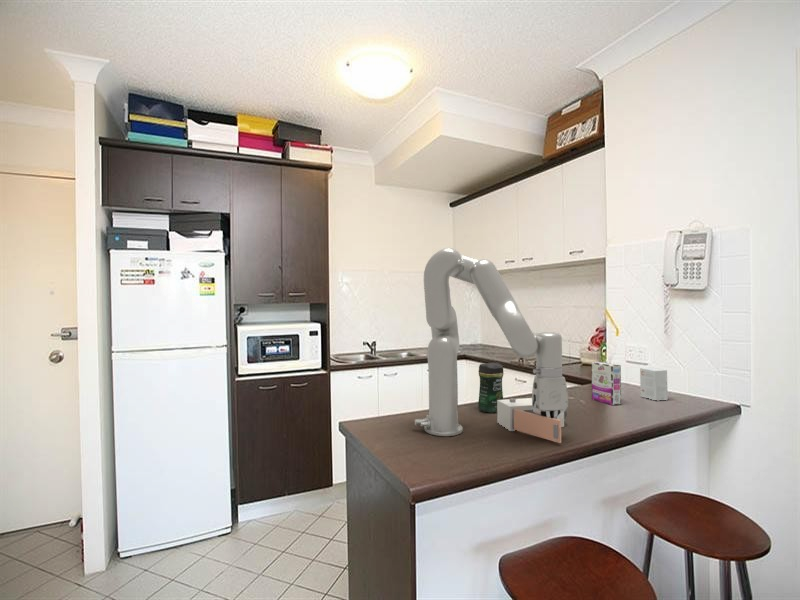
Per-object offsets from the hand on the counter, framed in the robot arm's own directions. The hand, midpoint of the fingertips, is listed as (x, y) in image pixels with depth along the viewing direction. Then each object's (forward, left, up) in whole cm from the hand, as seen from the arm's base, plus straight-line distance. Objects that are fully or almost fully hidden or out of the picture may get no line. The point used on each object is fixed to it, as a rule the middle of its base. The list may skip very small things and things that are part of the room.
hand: (549, 431), depth 118 cm
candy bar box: (+49, +34, -2) cm, 60 cm away
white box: (+2, +13, -2) cm, 13 cm away
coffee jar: (-4, +33, -2) cm, 33 cm away
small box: (+73, +34, -2) cm, 81 cm away
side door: (-5, +1, -1) cm, 5 cm away
